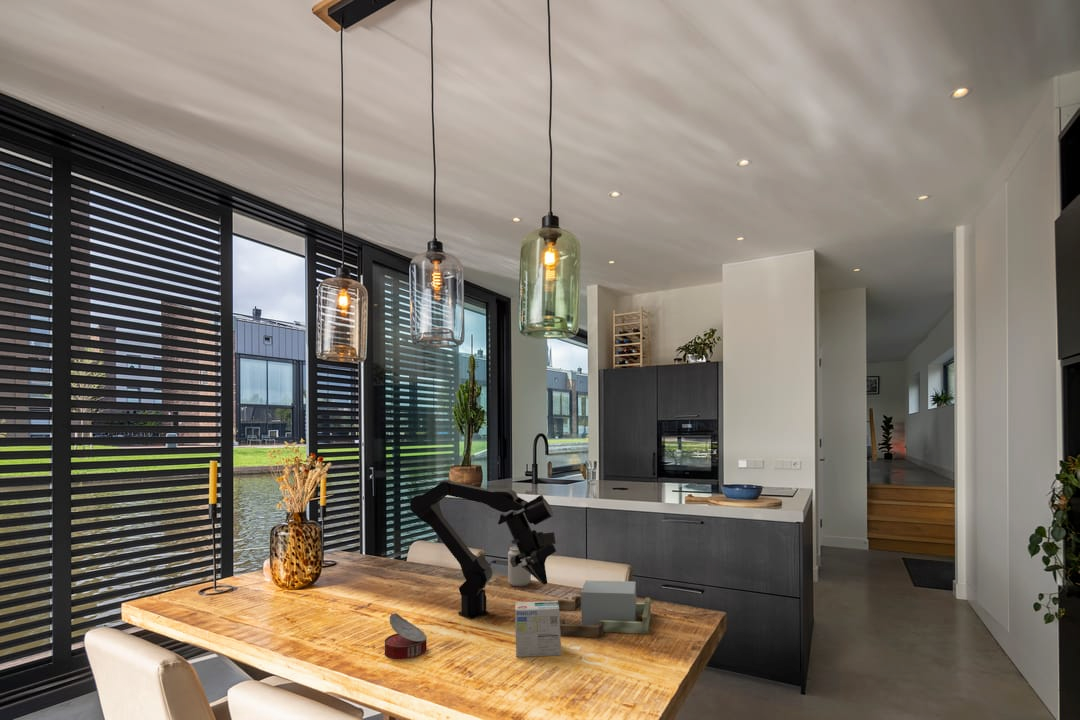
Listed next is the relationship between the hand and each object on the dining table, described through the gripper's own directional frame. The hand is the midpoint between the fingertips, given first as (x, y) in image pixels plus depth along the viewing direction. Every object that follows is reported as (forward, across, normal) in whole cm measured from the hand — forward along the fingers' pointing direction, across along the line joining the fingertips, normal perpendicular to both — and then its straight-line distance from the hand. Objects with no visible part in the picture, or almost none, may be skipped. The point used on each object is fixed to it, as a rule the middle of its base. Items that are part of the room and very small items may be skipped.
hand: (545, 584), depth 169 cm
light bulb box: (+9, -18, +18) cm, 27 cm away
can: (+2, +36, -8) cm, 37 cm away
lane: (+13, -6, -5) cm, 16 cm away
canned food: (-4, -2, +42) cm, 42 cm away
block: (+16, -9, -9) cm, 20 cm away
